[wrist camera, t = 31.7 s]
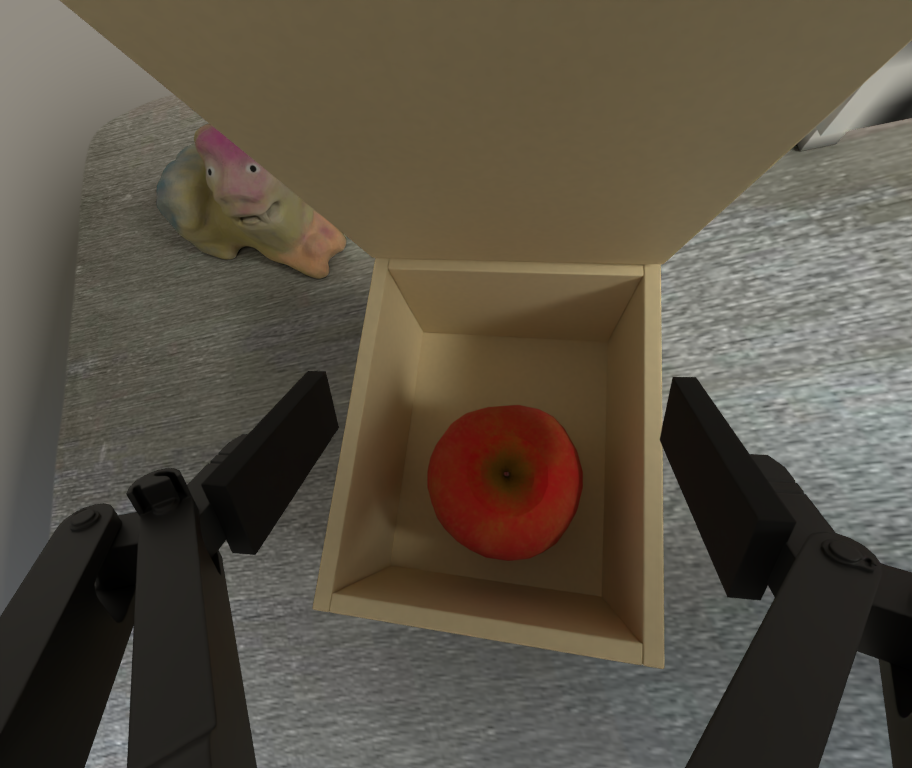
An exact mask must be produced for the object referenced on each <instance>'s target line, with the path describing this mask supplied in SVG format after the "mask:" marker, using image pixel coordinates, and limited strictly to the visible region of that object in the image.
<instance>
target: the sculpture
mask: <svg viewBox="0 0 912 768" xmlns="http://www.w3.org/2000/svg"><path fill="white" fill-rule="evenodd" d="M194 141H195V144H192V145H189V146H187V147H186V148H184V149H183V150H182V151H180V152H179V153H178V155H177V157H176V160H174V161H172V162H170V163H169V164H168V165H167V166H166V168H165V169H164V171H163V173H162V176H161V179H160V180H159V182H158V185H157V201H156V204H157V208H158V209H159V211H160V212H161V214H162V215H163V216H164V217H165V218H166V219H167V221H168V222H169V223H170V224H171V225H172V226H173V228H174V229H175V230H176V231H177V233H178V234H179V235H181V236H182V237H183V238H184V239H186V240H188V241H189V242H191V243H192V244H193V245H194V246H195V247H197V248H198V249H199V250H201V251H202V252H204V253H207V254H210V255H213V256H215V257H218V258H221V259H226V260H227V259H233V258H235V257H236V255H237V253H238V251H239V249H240V248H242V247H245V246H250V247H253V248H256V249H257V250H258V251H260V252H261V253H262V254H263V255H264V256H266V257H267V258H269V259H271V260H273V261H275V262H278V263H282V264H286V265H288V266H290V267H292V268H294V269H296V270H298V271H300V272H302V273H303V274H305V275H308V276H310V277H313V278H317V279H321V278H324V277H326V276H327V275H328V273H329V265H328V262H329V260H330V259H331V258H332V257H333V256H334V255H335V254H337V253H338V252H341V251H343V249H344V248H345V246H346V238H345V236H344V234H343V233H342V232H341V231H340V230H338V229H337V228H336V227H335V226H334V225H332V224H331V223H330V222H329V221H328V220H326V219H325V218H324V217H323V216H321V215H320V214H319V213H318V212H317V211H315V210H314V209H313V208H312V207H310V206H309V205H308V204H307V203H306V202H304V201H303V200H302V199H301V198H300V197H298V196H297V195H296V194H295V193H293V192H292V191H291V190H290V189H289V188H287V187H286V186H285V185H284V184H282V183H281V182H280V181H279V180H278V179H276V178H275V177H274V176H273V175H272V174H270V173H269V172H268V171H267V170H265V169H264V168H263V167H262V166H261V165H259V164H258V163H257V162H256V161H255V160H253V159H252V158H251V157H250V156H248V155H247V154H246V153H245V152H244V151H242V150H241V149H240V148H239V147H237V146H236V145H235V144H234V143H233V142H231V141H230V140H229V139H228V138H227V137H225V136H224V135H223V134H222V133H220V132H219V131H218V130H217V129H216V128H214V127H213V126H212V125H211V124H206V125H204V126H202V127H200V128H199V129H198V130H197V131H196V132H195V136H194Z"/></svg>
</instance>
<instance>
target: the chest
mask: <svg viewBox="0 0 912 768" xmlns="http://www.w3.org/2000/svg"><path fill="white" fill-rule="evenodd" d="M509 405H522V406H527V407H532V408H536V409H540V410H542V411H544V412H546V413H548V414H549V415H551V416H553V417H554V418H555V419H556V420H557V421H558V422H559V423H560V424H561V425H562V426H563V427H564V428H565V430H566V432H567V434H568V435H569V437H570V439H571V441H572V443H573V444H574V446H575V448H576V450H577V452H578V456H579V460H580V463H581V467H582V471H583V489H582V493H581V497H580V501H579V505H578V510H577V512H576V514H575V516H574V517H573V519H572V521H571V523H570V525H569V527H568V528H567V530H566V531H565V532H564V534H563V535H562V537H561V538H560V539H559V541H558V542H557V543H556V544H555V545H554V546H552V547H551V548H549V549H548V550H546V551H544V552H543V553H541V554H538V555H536V556H534V557H532V558H529V559H522V560H513V561H505V560H498V559H492V558H486V557H484V556H481V555H479V554H477V553H475V552H473V551H471V550H469V549H468V548H466V547H465V546H463V545H462V544H460V543H459V542H457V541H456V540H455V539H454V538H453V537H452V536H451V535H450V534H449V533H448V532H447V531H446V530H445V529H444V527H443V526H442V524H441V523H440V522H439V520H438V519H437V517H436V514H435V511H434V508H433V506H432V503H431V499H430V495H429V491H428V488H427V471H428V466H429V461H430V457H431V455H432V453H433V451H434V448H435V446H436V444H437V443H438V441H439V440H440V438H441V437H442V436H443V434H444V433H445V432H446V430H447V429H448V427H449V426H450V425H451V424H452V423H453V422H454V421H456V420H457V419H459V418H460V417H461V416H463V415H464V414H466V413H469V412H472V411H475V410H479V409H482V408H486V407H494V406H509ZM661 430H662V346H661V264H626V263H583V262H540V261H497V260H454V259H411V258H375V263H374V269H373V274H372V280H371V285H370V291H369V296H368V302H367V308H366V313H365V319H364V324H363V330H362V335H361V341H360V347H359V352H358V358H357V363H356V369H355V374H354V380H353V385H352V391H351V397H350V402H349V408H348V413H347V419H346V424H345V430H344V436H343V441H342V447H341V452H340V458H339V463H338V469H337V474H336V480H335V486H334V491H333V497H332V502H331V508H330V513H329V519H328V525H327V530H326V536H325V541H324V547H323V552H322V558H321V563H320V569H319V575H318V580H317V586H316V591H315V597H314V602H313V610H319V611H325V612H329V611H330V612H331V613H337V614H343V615H349V616H355V617H360V618H366V619H372V620H378V621H384V622H390V623H396V624H402V625H407V626H413V627H419V628H425V629H431V630H437V631H443V632H448V633H454V634H460V635H466V636H472V637H478V638H484V639H490V640H495V641H501V642H507V643H513V644H519V645H525V646H531V647H536V648H542V649H548V650H554V651H560V652H566V653H572V654H578V655H583V656H589V657H595V658H601V659H607V660H613V661H619V662H624V663H630V664H636V665H642V664H643V665H644V666H648V667H654V668H660V669H664V562H663V454H662V444H661V442H660V435H661Z"/></svg>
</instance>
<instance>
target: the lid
mask: <svg viewBox="0 0 912 768" xmlns="http://www.w3.org/2000/svg"><path fill="white" fill-rule="evenodd" d="M60 1H61V2H62V3H63V4H65V5H66V6H67V7H68V8H70V9H71V10H72V11H73V12H74V13H76V14H77V15H78V16H79V17H80V18H82V19H83V20H84V21H85V22H87V23H88V24H89V25H90V26H91V27H93V28H94V29H95V30H96V31H97V32H99V33H100V34H101V35H102V36H104V37H105V38H106V39H107V40H109V41H110V42H111V43H112V44H113V45H115V46H116V47H117V48H118V49H119V50H121V51H122V52H123V53H124V54H125V55H127V56H128V57H129V58H130V59H132V60H133V61H134V62H135V63H136V64H138V65H139V66H140V67H141V68H143V69H144V70H145V71H146V72H147V73H149V74H150V75H151V76H152V77H154V78H155V79H156V80H157V81H159V82H160V83H161V84H162V85H163V86H164V87H166V88H167V89H168V90H169V91H171V92H172V93H173V94H174V95H175V96H177V97H178V98H179V99H180V100H181V101H183V102H184V103H185V104H186V105H188V106H189V107H190V108H191V109H192V110H194V111H195V112H196V113H197V114H199V115H200V116H201V117H202V118H203V119H205V120H206V121H207V122H208V123H209V124H211V125H212V126H213V127H214V128H216V129H217V130H218V131H219V132H220V133H222V134H223V135H224V136H225V137H227V138H228V139H229V140H230V141H231V142H233V143H234V144H235V145H236V146H237V147H239V148H240V149H241V150H242V151H244V152H245V153H246V154H247V155H248V156H250V157H251V158H252V159H253V160H255V161H256V162H257V163H258V164H259V165H261V166H262V167H263V168H264V169H265V170H267V171H268V172H269V173H270V174H272V175H273V176H274V177H275V178H276V179H278V180H279V181H280V182H281V183H282V184H284V185H285V186H286V187H287V188H289V189H290V190H291V191H292V192H293V193H295V194H296V195H297V196H298V197H300V198H301V199H302V200H303V201H304V202H306V203H307V204H308V205H309V206H310V207H312V208H313V209H314V210H315V211H317V212H318V213H319V214H320V215H321V216H323V217H324V218H325V219H326V220H328V221H329V222H330V223H331V224H332V225H334V226H335V227H336V228H337V229H338V230H340V231H341V232H342V233H343V234H345V235H346V236H347V237H348V238H349V239H351V240H352V241H353V242H354V243H356V244H357V245H358V246H359V247H360V248H362V249H363V250H364V251H365V252H366V253H368V254H369V255H370V256H371V257H373V258H411V259H454V260H497V261H540V262H583V263H626V264H664V263H665V262H666V261H667V260H668V259H670V258H671V257H672V256H673V255H674V254H675V253H676V252H677V251H678V250H680V249H681V248H682V247H683V246H684V245H685V244H686V243H687V242H688V241H690V240H691V239H692V238H693V237H694V236H695V235H696V234H697V233H698V232H700V231H701V230H702V229H703V228H704V227H705V226H706V225H707V224H708V223H710V222H711V221H712V220H713V219H714V218H715V217H716V216H717V215H718V214H720V213H721V212H722V211H723V210H724V209H725V208H726V207H727V206H728V205H730V204H731V203H732V202H733V201H734V200H735V199H736V198H737V197H738V196H740V195H741V194H742V193H743V192H744V191H745V190H746V189H747V188H748V187H750V186H751V185H752V184H753V183H754V182H755V181H756V180H757V179H758V178H759V177H761V176H762V175H763V174H764V173H765V172H766V171H767V170H768V169H769V168H771V167H772V166H773V165H774V164H775V163H776V162H777V161H778V160H779V159H781V158H782V157H783V156H784V155H785V154H786V153H787V152H788V151H789V150H791V149H792V148H793V147H794V146H795V145H796V144H797V143H798V142H799V141H801V140H802V139H803V138H804V137H805V136H806V135H807V134H808V133H809V132H811V131H812V130H813V129H814V128H815V127H816V126H817V125H818V124H819V123H821V122H822V121H823V120H824V119H825V118H826V117H827V116H828V115H829V114H831V113H832V112H833V111H834V110H835V109H836V108H837V107H838V106H839V105H841V104H842V103H843V102H844V101H845V100H846V99H847V98H848V97H849V96H851V95H852V94H853V93H854V92H855V91H856V90H857V89H858V88H859V87H861V86H862V85H863V84H864V83H865V82H866V81H867V80H868V79H869V78H870V77H872V76H873V75H874V74H875V73H876V72H877V71H878V70H879V69H880V68H882V67H883V66H884V65H885V64H886V63H887V62H888V61H889V60H890V59H892V58H893V57H894V56H895V55H896V54H897V53H898V52H899V51H900V50H902V49H903V48H904V47H905V46H906V45H907V44H908V43H909V42H910V41H912V0H60Z"/></svg>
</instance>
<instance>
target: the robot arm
mask: <svg viewBox="0 0 912 768" xmlns="http://www.w3.org/2000/svg"><path fill="white" fill-rule="evenodd" d="M338 428H339V426H338V422H337V417H336V413H335V409H334V405H333V400H332V396H331V392H330V388H329V384H328V379H327V375H326V371H308V372H307V373H306V374H305V375H304V376H303V377H302V378H301V379H300V380H299V381H298V382H297V383H296V384H295V385H294V386H293V387H292V389H291V390H290V391H289V392H288V393H287V394H286V395H285V396H284V397H283V398H282V399H281V400H280V401H279V402H278V403H277V404H276V405H275V407H274V408H273V409H272V410H271V411H270V412H269V413H268V414H267V415H266V416H265V417H264V418H263V419H262V420H261V421H260V422H259V423H258V424H257V426H256V427H255V428H254V429H253V430H252V431H251V432H250V433H249V434H242V435H241V436H239V437H237V438H236V439H234V440H233V441H231V442H229V443H228V444H227V445H226V446H225V447H224V448H223V449H222V450H221V451H220V452H219V455H216V456H215V457H214V458H213V459H212V460H211V463H208V464H207V465H206V466H205V467H204V468H203V469H202V470H201V471H200V472H199V473H198V475H197V476H196V477H195V478H194V479H193V480H192V481H191V482H190V483H189V484H188V485H187V484H186V482H185V480H184V478H183V476H182V474H181V472H180V471H179V470H177V469H174V468H165V469H161V470H157V471H154V472H151V473H149V474H147V475H144V476H143V477H141V478H140V479H138V480H137V481H135V482H134V483H133V484H132V485H131V486H130V487H129V489H128V491H127V493H126V494H127V496H128V498H129V499H130V501H131V503H132V505H133V506H134V508H135V510H136V511H137V512H135V513H129V514H124V515H117V513H116V512H115V510H114V508H113V507H112V506H111V505H109V504H104V503H103V504H95V505H92V506H89V507H85V508H83V509H80V510H79V511H77V512H75V513H73V514H72V515H70V516H69V517H68V518H66V519H65V520H64V521H63V522H62V523H61V524H60V525H59V526H58V527H57V529H56V530H55V532H54V533H53V535H52V537H51V538H50V540H49V541H48V543H47V544H46V546H45V548H44V549H43V551H42V552H41V554H40V555H39V557H38V559H37V560H36V562H35V563H34V565H33V566H32V568H31V570H30V571H29V573H28V574H27V576H26V577H25V579H24V580H23V582H22V583H21V585H20V587H19V588H18V590H17V591H16V593H15V595H14V596H13V598H12V599H11V601H10V602H9V604H8V605H7V607H6V608H5V610H4V612H3V613H2V615H1V617H0V768H84V767H85V765H86V762H87V759H88V756H89V753H90V750H91V747H92V744H93V741H94V739H95V736H96V733H97V730H98V727H99V724H100V721H101V718H102V715H103V712H104V710H105V707H106V704H107V701H108V698H109V695H110V692H111V689H112V686H113V684H114V681H115V678H116V675H117V672H118V669H119V666H120V663H121V660H122V658H123V655H124V652H125V649H126V646H127V643H128V640H129V637H130V634H131V631H132V629H133V626H134V634H133V655H132V675H131V696H130V717H129V737H128V758H127V768H257V765H256V759H255V753H254V747H253V741H252V735H251V729H250V723H249V717H248V711H247V705H246V699H245V693H244V687H243V681H242V675H241V669H240V662H239V656H238V650H237V644H236V638H235V632H234V626H233V620H232V614H231V608H230V602H229V596H228V590H227V584H226V578H225V572H224V566H223V560H222V556H221V554H220V552H219V548H220V547H221V546H222V544H223V543H224V542H225V540H227V542H228V544H229V546H230V549H231V551H232V553H239V554H250V555H256V553H257V552H258V550H259V549H260V547H261V546H262V544H263V543H264V541H265V540H266V538H267V537H268V535H269V534H270V532H271V530H272V529H273V527H274V526H275V524H276V523H277V521H278V520H279V518H280V517H281V515H282V514H283V512H284V511H285V509H286V508H287V506H288V504H289V503H290V501H291V500H292V498H293V497H294V495H295V494H296V492H297V491H298V489H299V488H300V486H301V485H302V483H303V482H304V480H305V479H306V477H307V475H308V474H309V472H310V471H311V469H312V468H313V466H314V465H315V463H316V462H317V460H318V459H319V457H320V456H321V454H322V453H323V451H324V450H325V448H326V446H327V445H328V443H329V442H330V440H331V439H332V437H333V436H334V434H335V433H336V431H337V430H338ZM660 442H661V444H662V446H663V449H664V451H665V453H666V456H667V458H668V460H669V463H670V465H671V467H672V470H673V472H674V474H675V477H676V479H677V481H678V484H679V486H680V488H681V490H682V493H683V495H684V497H685V500H686V502H687V504H688V507H689V509H690V511H691V514H692V516H693V518H694V521H695V523H696V525H697V528H698V530H699V532H700V534H701V537H702V539H703V541H704V544H705V546H706V548H707V551H708V553H709V555H710V558H711V560H712V562H713V565H714V567H715V569H716V572H717V574H718V576H719V579H720V581H721V583H722V585H723V588H724V590H725V592H726V595H727V597H730V598H741V599H752V600H761V598H762V596H763V594H764V592H765V590H766V588H767V585H768V586H769V588H770V590H771V591H772V593H773V595H774V597H775V599H774V601H773V603H772V604H771V606H770V608H769V610H768V612H767V614H766V616H765V618H764V619H763V621H762V623H761V625H760V627H759V629H758V631H757V633H756V635H755V636H754V638H753V640H752V642H751V644H750V646H749V648H748V650H747V652H746V653H745V655H744V657H743V659H742V661H741V663H740V665H739V667H738V669H737V670H736V672H735V674H734V676H733V678H732V680H731V682H730V684H729V685H728V687H727V689H726V691H725V693H724V695H723V697H722V699H721V701H720V702H719V704H718V706H717V708H716V710H715V712H714V714H713V716H712V718H711V719H710V721H709V723H708V725H707V727H706V729H705V731H704V733H703V735H702V736H701V738H700V740H699V742H698V744H697V746H696V748H695V750H694V751H693V753H692V755H691V757H690V759H689V761H688V763H687V765H686V767H685V768H818V767H819V764H820V761H821V758H822V755H823V752H824V749H825V746H826V743H827V740H828V737H829V734H830V731H831V728H832V725H833V722H834V719H835V716H836V713H837V710H838V707H839V704H840V701H841V698H842V695H843V691H844V688H845V685H846V682H847V679H848V676H849V673H850V670H851V667H852V664H853V661H854V658H855V655H856V652H857V651H858V652H861V653H864V654H867V655H869V656H872V657H875V658H878V659H879V665H880V673H881V680H882V688H883V696H884V703H885V711H886V718H887V726H888V734H889V741H890V749H891V757H892V764H893V768H912V572H908V571H905V570H901V569H898V568H894V567H891V566H887V565H884V564H881V563H880V562H879V560H878V559H877V557H876V556H875V555H874V554H873V553H872V552H871V551H869V550H868V549H867V548H866V547H865V546H863V545H862V544H860V543H858V542H856V541H854V540H853V539H851V538H848V537H845V536H843V535H840V534H837V533H835V531H834V530H833V529H832V528H831V526H830V525H829V524H828V522H827V521H826V520H825V518H824V517H823V516H822V515H821V513H820V512H819V511H818V509H817V508H816V507H815V506H814V504H813V503H812V502H811V500H810V499H809V498H808V497H807V495H806V494H804V491H803V490H802V489H801V488H800V486H799V485H798V484H797V483H795V480H794V478H793V477H792V476H791V475H790V473H789V472H788V471H787V469H786V468H785V467H784V466H782V465H781V464H780V463H778V462H777V461H775V460H774V459H773V458H771V457H770V456H768V455H754V454H749V453H748V451H747V450H746V449H745V447H744V446H743V444H742V443H741V441H740V440H739V438H738V437H737V436H736V434H735V433H734V431H733V430H732V428H731V427H730V426H729V424H728V423H727V421H726V420H725V418H724V417H723V415H722V414H721V413H720V411H719V410H718V408H717V407H716V405H715V404H714V403H713V401H712V400H711V398H710V397H709V395H708V394H707V392H706V391H705V390H704V388H703V387H702V385H701V384H700V382H699V381H698V379H697V378H696V377H673V379H672V383H671V388H670V393H669V398H668V402H667V407H666V412H665V416H664V421H663V426H662V430H661V435H660Z"/></svg>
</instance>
